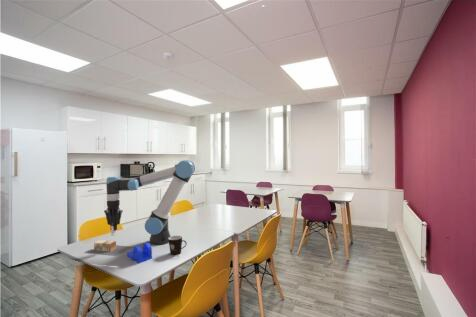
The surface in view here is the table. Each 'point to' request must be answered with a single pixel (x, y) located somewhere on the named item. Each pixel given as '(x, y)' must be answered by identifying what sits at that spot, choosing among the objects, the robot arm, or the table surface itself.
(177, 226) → the table surface
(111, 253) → the charcoal mat
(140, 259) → the bracket
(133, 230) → the table surface
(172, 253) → the coffee mug
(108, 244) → the birch pillar
